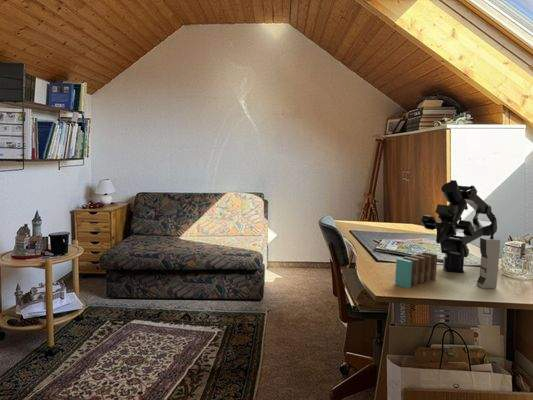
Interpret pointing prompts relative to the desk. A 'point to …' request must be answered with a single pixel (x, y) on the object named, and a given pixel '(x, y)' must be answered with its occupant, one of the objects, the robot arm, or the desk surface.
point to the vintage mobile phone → (489, 260)
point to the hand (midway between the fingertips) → (437, 242)
